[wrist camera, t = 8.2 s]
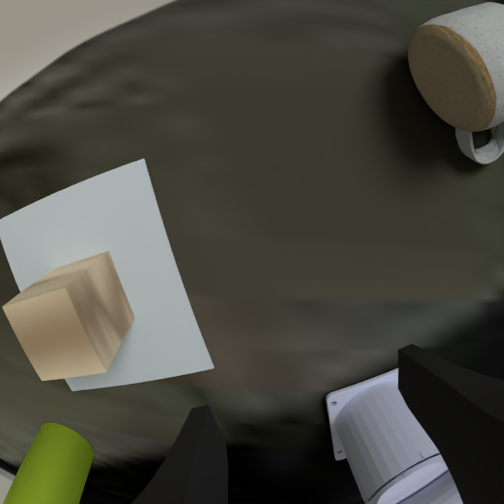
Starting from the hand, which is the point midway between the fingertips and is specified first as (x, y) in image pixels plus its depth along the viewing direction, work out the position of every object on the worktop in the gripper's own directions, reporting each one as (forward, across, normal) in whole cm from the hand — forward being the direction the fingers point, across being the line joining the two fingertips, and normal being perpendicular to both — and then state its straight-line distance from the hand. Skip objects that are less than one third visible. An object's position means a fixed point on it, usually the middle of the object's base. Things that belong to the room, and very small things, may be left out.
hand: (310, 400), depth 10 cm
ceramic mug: (+10, -17, -11) cm, 22 cm away
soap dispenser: (+10, +22, +10) cm, 26 cm away
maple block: (+9, +11, -3) cm, 15 cm away
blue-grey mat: (+9, +11, -3) cm, 15 cm away
